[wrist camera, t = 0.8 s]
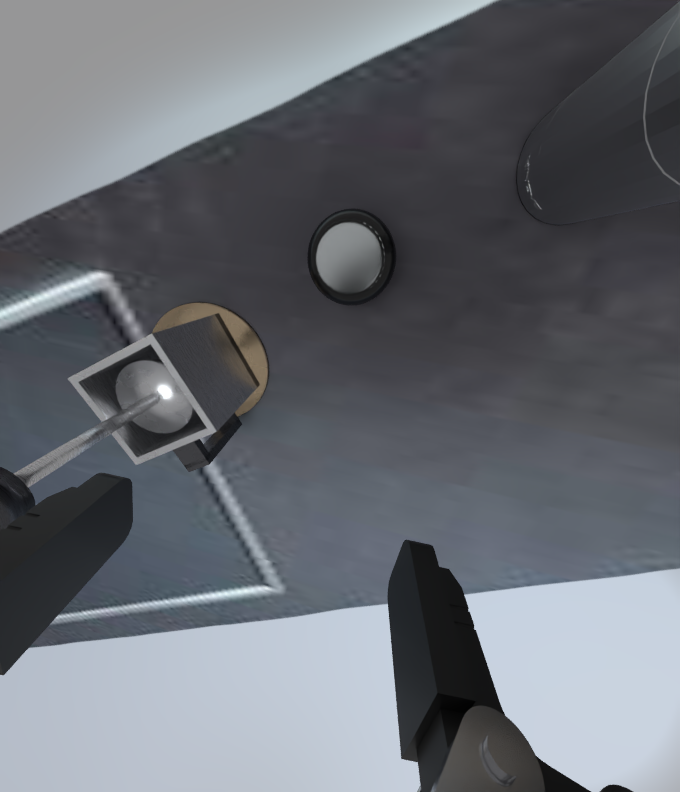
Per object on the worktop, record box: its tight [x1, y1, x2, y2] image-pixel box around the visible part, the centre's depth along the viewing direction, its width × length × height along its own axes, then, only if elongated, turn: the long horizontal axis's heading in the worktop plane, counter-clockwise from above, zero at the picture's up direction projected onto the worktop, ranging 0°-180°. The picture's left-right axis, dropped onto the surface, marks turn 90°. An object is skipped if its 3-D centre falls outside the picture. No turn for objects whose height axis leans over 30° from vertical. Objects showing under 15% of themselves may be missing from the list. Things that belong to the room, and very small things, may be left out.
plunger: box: [0, 358, 195, 530], centre depth 21 cm, size 7×7×15 cm
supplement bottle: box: [308, 209, 396, 305], centre depth 26 cm, size 7×7×12 cm
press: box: [68, 302, 269, 472], centre depth 32 cm, size 14×14×12 cm
